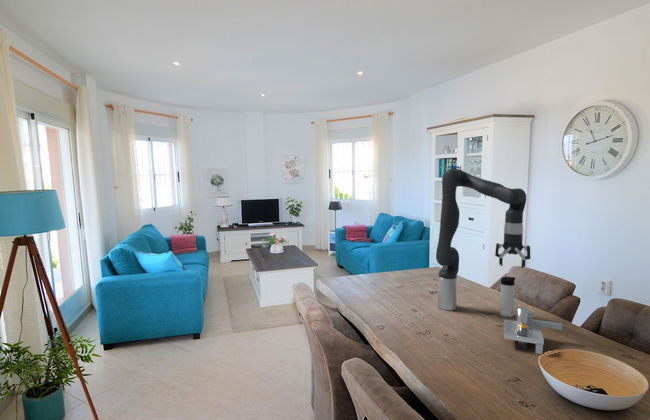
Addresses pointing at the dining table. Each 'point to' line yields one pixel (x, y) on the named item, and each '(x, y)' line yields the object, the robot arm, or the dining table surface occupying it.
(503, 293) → the travel mug
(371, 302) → the dining table surface
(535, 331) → the grey metal bracket
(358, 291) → the dining table surface
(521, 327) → the pin
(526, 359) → the dining table surface
